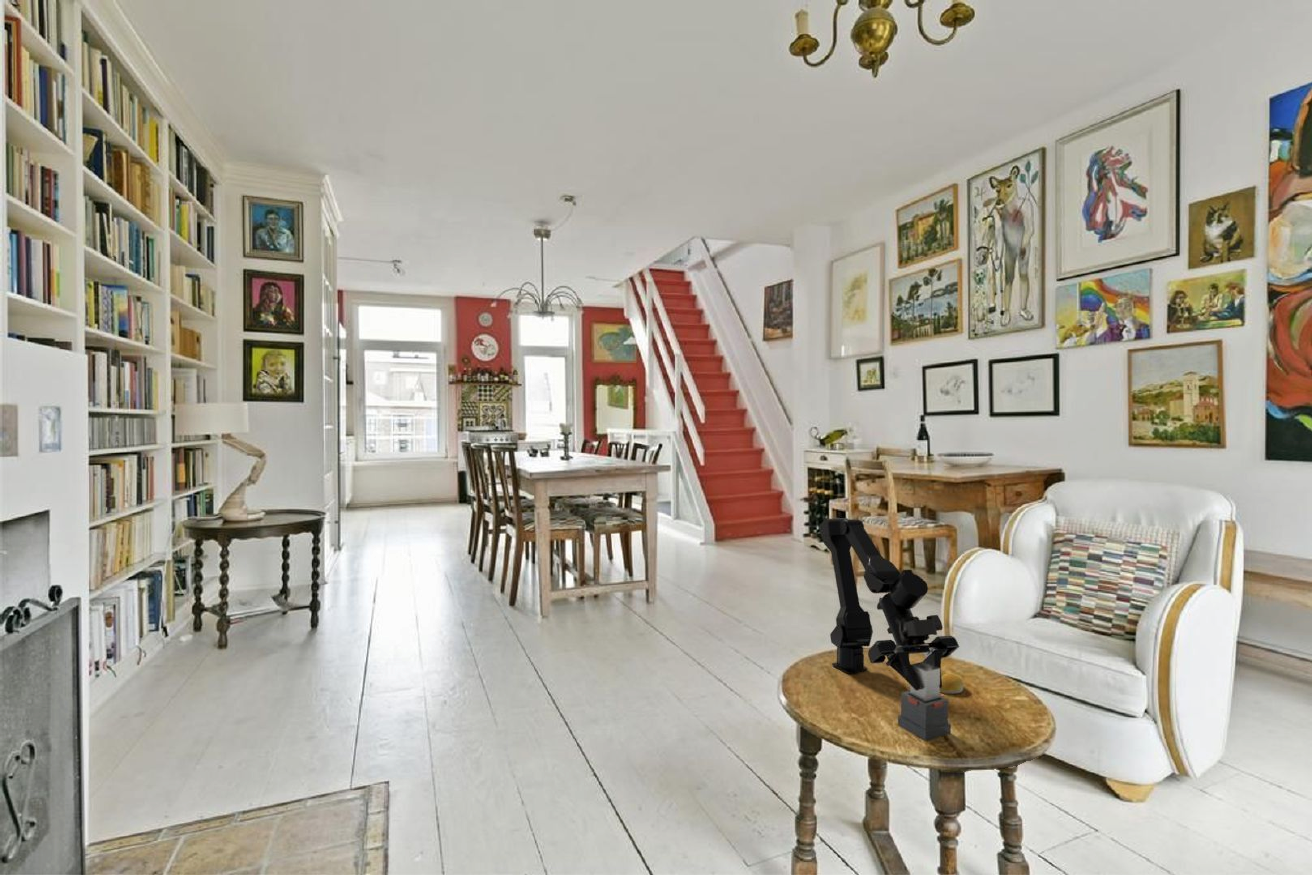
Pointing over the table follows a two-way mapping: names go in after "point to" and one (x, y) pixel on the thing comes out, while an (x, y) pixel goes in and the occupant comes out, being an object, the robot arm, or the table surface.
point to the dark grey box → (924, 717)
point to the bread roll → (951, 683)
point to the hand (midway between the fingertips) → (929, 688)
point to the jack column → (926, 682)
